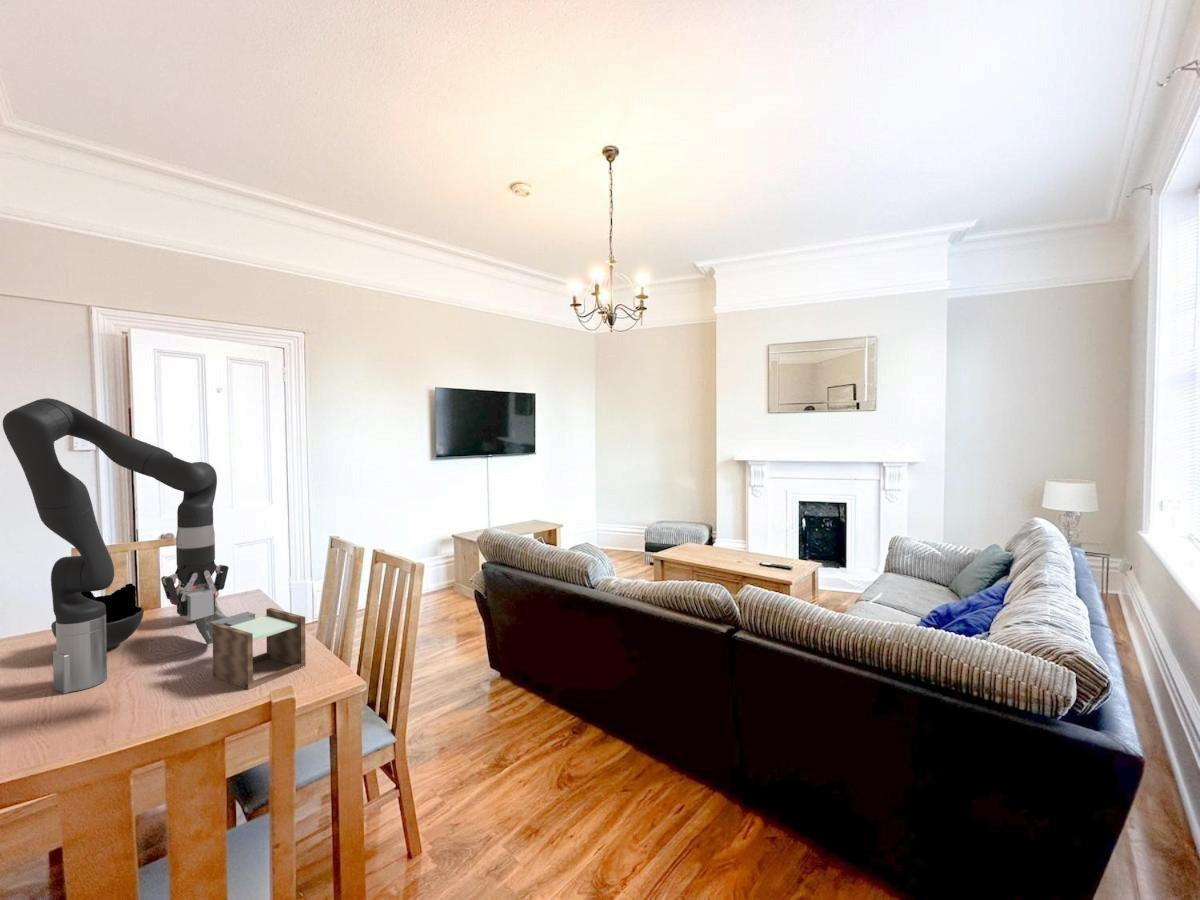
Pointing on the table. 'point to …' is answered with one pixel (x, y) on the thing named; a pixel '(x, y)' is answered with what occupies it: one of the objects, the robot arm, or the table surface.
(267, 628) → the trapdoor
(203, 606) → the gray block
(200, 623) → the rock
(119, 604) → the coal bowl
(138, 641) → the table surface
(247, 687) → the wooden bench shelf
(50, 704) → the table surface
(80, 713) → the table surface
